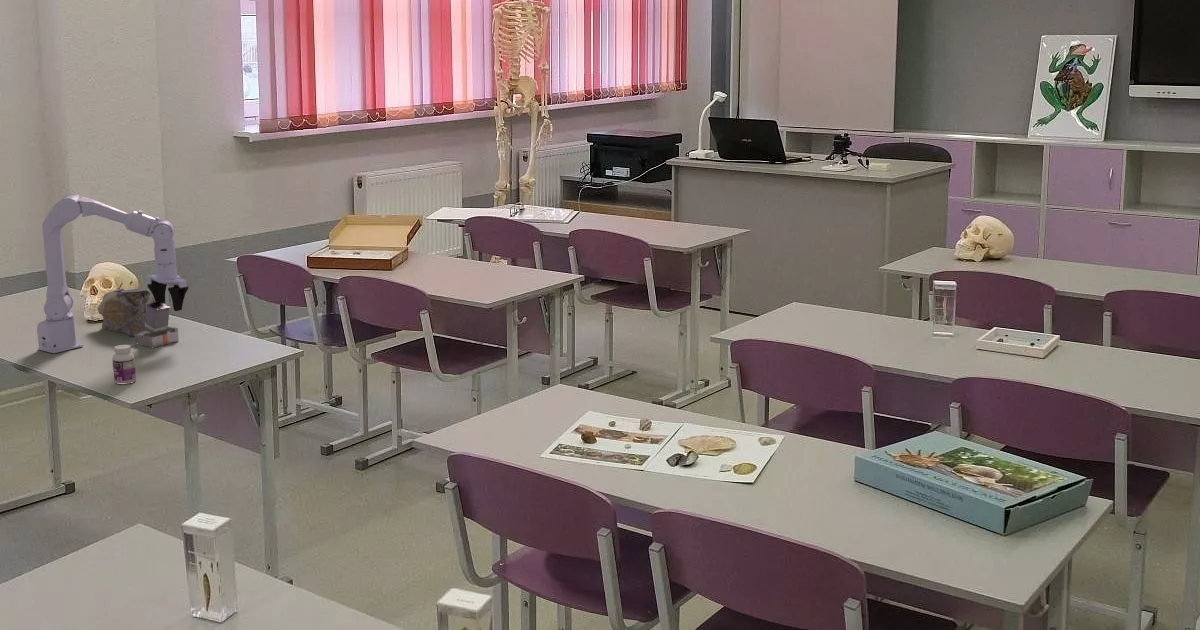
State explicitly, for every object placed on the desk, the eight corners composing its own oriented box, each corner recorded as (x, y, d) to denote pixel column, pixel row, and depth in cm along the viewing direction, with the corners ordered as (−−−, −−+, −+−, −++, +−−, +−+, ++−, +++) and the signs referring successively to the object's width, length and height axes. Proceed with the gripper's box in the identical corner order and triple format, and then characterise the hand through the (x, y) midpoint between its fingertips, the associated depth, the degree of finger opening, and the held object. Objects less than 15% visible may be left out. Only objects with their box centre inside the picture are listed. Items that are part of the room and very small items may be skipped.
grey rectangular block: (154, 335, 349) (156, 310, 346) (144, 329, 351) (146, 304, 348) (167, 331, 353) (170, 307, 350) (157, 326, 355) (160, 301, 352)
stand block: (153, 347, 347) (151, 334, 346) (135, 343, 352) (133, 330, 351) (179, 341, 354) (178, 327, 354) (161, 337, 359) (160, 324, 358)
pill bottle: (110, 382, 314) (106, 346, 312) (129, 378, 318) (125, 342, 316) (121, 386, 311) (118, 350, 308) (140, 381, 315) (137, 346, 312)
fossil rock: (100, 341, 369) (92, 292, 368) (128, 336, 376) (120, 288, 375) (138, 337, 357) (130, 287, 356) (166, 333, 364) (158, 283, 363)
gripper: (193, 263, 348) (197, 309, 351) (161, 257, 355) (165, 302, 359) (173, 267, 342) (176, 314, 345) (140, 261, 350) (144, 307, 353)
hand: (169, 308), depth 352 cm, fingers open, 7 cm apart
